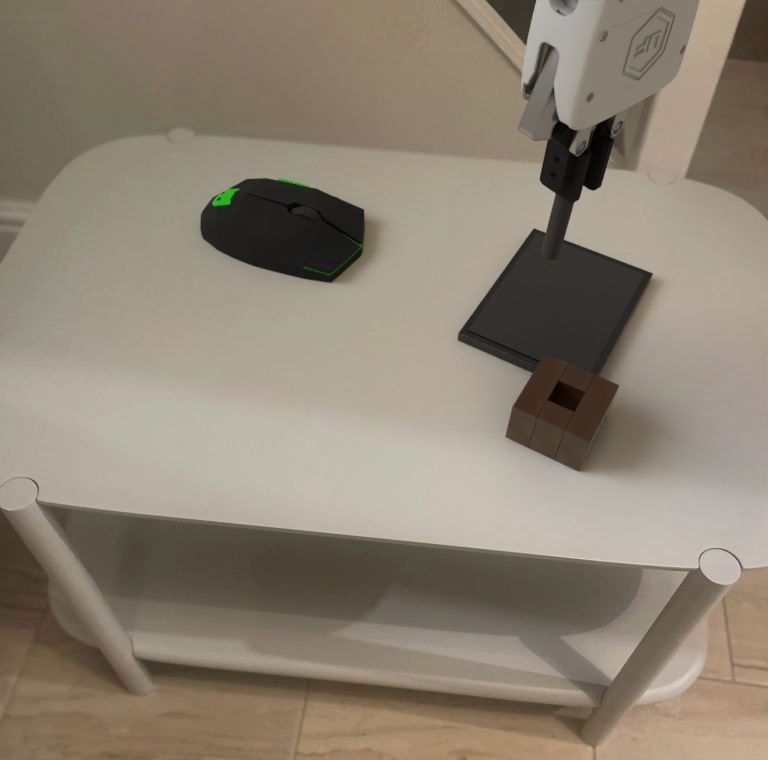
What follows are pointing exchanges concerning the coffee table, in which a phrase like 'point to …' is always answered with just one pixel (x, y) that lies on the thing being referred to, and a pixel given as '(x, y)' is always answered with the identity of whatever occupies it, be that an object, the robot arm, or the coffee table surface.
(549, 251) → the stylus
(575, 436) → the holder
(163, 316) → the coffee table surface
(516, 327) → the tablet
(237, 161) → the coffee table surface
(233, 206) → the computer mouse
